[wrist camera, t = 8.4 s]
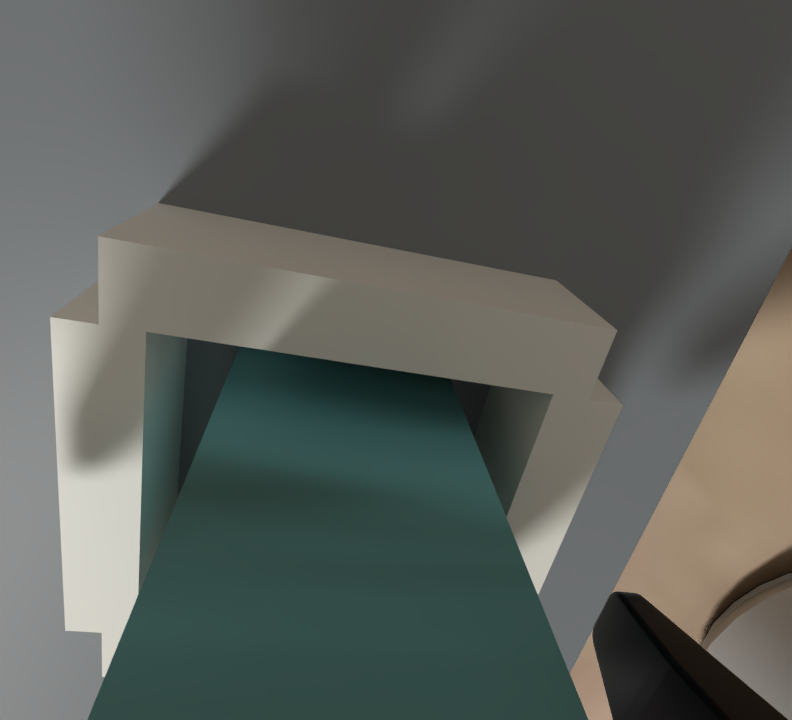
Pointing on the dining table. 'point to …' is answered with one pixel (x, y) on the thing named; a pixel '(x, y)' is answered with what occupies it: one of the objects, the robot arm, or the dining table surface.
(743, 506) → the dining table surface
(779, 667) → the can
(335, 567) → the peg
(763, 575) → the dining table surface
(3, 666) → the holder
